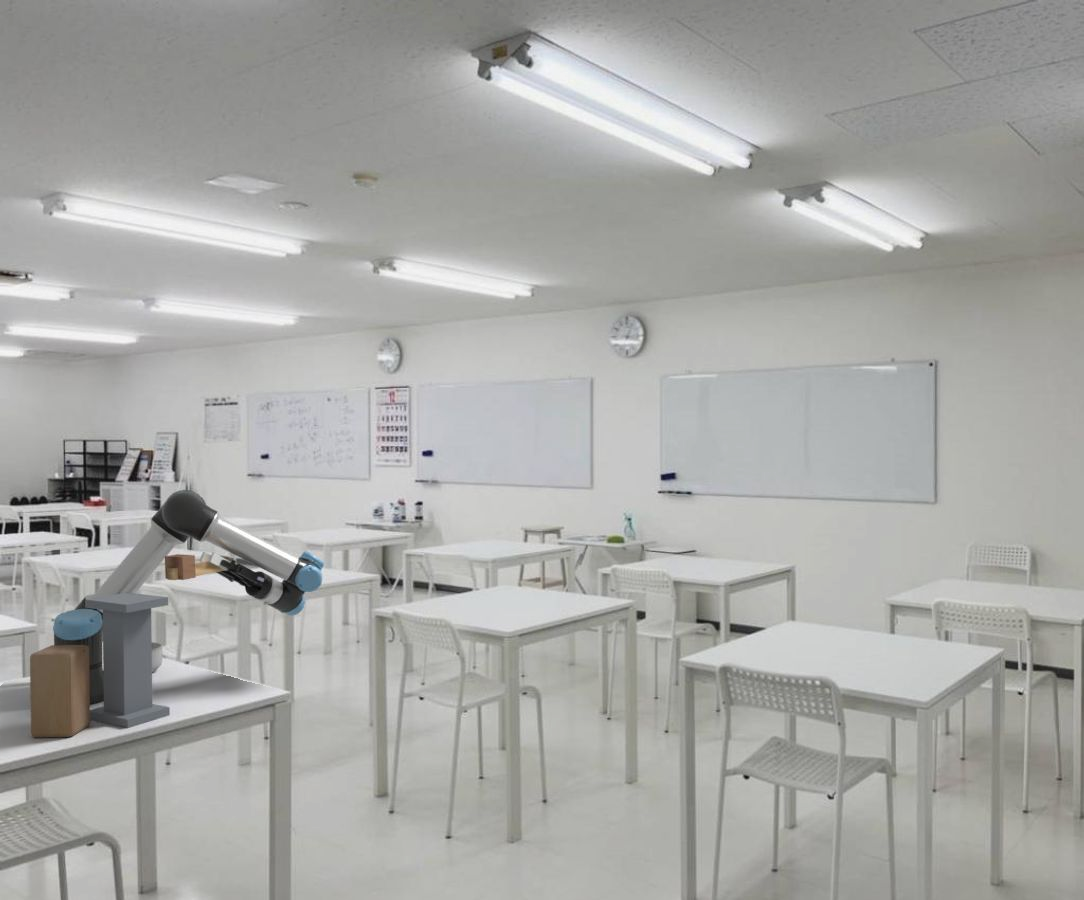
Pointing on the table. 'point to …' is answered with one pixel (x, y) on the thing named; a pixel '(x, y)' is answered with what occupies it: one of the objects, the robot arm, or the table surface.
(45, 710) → the wooden block
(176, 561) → the marking gauge
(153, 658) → the teacup
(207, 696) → the table surface
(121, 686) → the tall stand
